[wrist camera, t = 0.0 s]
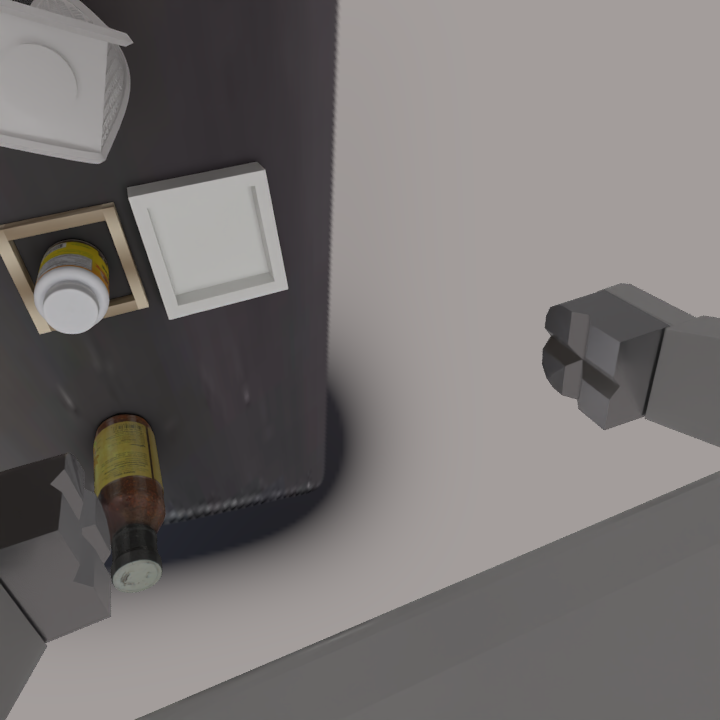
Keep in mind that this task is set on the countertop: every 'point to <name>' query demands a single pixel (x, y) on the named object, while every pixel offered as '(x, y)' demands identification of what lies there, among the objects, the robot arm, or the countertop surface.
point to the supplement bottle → (72, 286)
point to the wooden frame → (5, 234)
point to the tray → (210, 238)
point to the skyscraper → (60, 80)
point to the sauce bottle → (130, 499)
